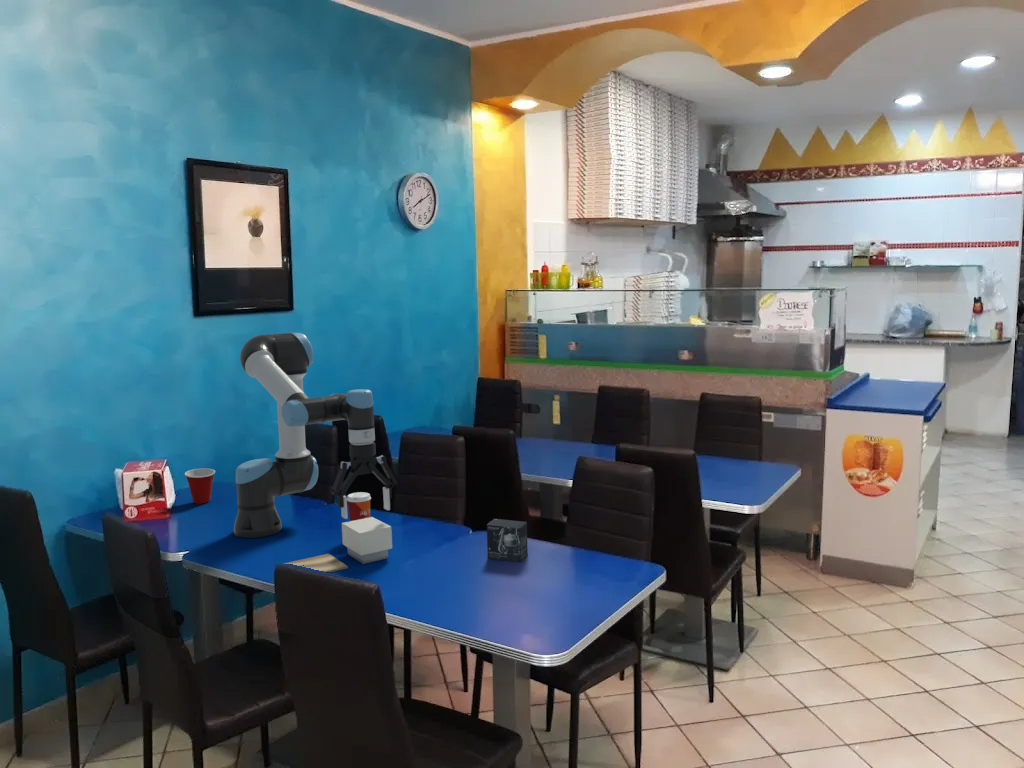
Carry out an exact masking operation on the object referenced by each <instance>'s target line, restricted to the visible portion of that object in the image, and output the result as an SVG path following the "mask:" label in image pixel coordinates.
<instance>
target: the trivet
mask: <svg viewBox="0 0 1024 768" xmlns="http://www.w3.org/2000/svg"><path fill="white" fill-rule="evenodd" d="M283 564H293V565H297V566H302V567H306V568H311V569H314V570H319V571H324V572H329V573H332V572H333V573H335V572H338V571H341V570H346V569H349V566H348V565H346V564H345V563H344V562H342V561H340V560H339V559H338V558H336V557H335V556H333V555H332V554H330V553H325V554H320V555H316V556H312V557H307V558H303V559H298V560H293V561H289V562H284V563H283ZM303 565H304V566H303ZM329 573H328V574H329Z"/></svg>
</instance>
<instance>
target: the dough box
mask: <svg viewBox="0 0 1024 768" xmlns="http://www.w3.org/2000/svg"><path fill="white" fill-rule="evenodd" d="M346 548H347V555H348V556H350V557H351V558H353V559H355V560H356V561H358V562H359V563H361V564H362V565H364V564H369V563H373V562H378V561H381V560H386V559H389V549H388V550H383V551H379V552H374V553H370V554H366V555H359V554H358V553H356V552H354V551H353V550H351V549H349V548H348V547H346Z"/></svg>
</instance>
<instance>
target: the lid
mask: <svg viewBox="0 0 1024 768" xmlns="http://www.w3.org/2000/svg"><path fill="white" fill-rule="evenodd" d="M341 535H342V536H341V537H342V545H343V546H345V547H346V548H347V547H348V548H349V549H351V550H353V551H354V552H356V553H358V554H359V555H366V554H370V553H374V552H379V551H383V550H388V551H389V550H391V549H393V534H392V526H391V525H390V524H387V523H385V522H383V521H381V520H379V519H377V518H375V517H373V516H370V517H369V518H364V519H359V520H354V521H350V520H349V521H345V522H341Z"/></svg>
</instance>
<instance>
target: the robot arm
mask: <svg viewBox="0 0 1024 768" xmlns="http://www.w3.org/2000/svg"><path fill="white" fill-rule="evenodd" d="M314 358H315V357H314V349H313V346H312V343H311V342H310V340H309V338H308V337H307V336H306V335H305V334H303V333H302V332H281V333H280V332H279V333H271V334H259V335H255V336H253V337H251V338H249V339H248V340H247V341H246V342H245V343H244V344H243V346H242V348H241V351H240V354H239V361H240V365H241V367H242V369H243V371H244V372H245V373H246V374H247V375H248V376H249V377H250V378H253V379H256V380H257V381H258V382H259V383H260V384H261V386H262V387H263V388H264V389H265V390H266V392H268V393H269V394H270V395H271V397H272V398H274V400H275V401H276V403H277V404H276V405H277V427H278V442H279V443H278V445H279V450H277V452H275V454H274V457H275V458H274V459H275V460H274V461H273V460H272V459H271V458H267V457H266V458H265V457H262V458H256V459H251V460H248V461H245V462H243V463H241V464H240V465H238V466H237V468H236V469H235V481H234V482H235V485H236V486H235V488H236V499H237V514H236V517H235V521H234V525H233V534H234V536H235V537H237V538H244V539H255V538H265V537H268V536H272V535H275V534H277V533H280V532H281V530H282V526H283V525H282V520H281V518H280V516H279V513H278V510H277V508H276V504H275V503H276V502H275V498H277V497H281V496H286V495H293V494H296V493H300V494H301V493H303V492H305V491H309V490H311V489H313V488H314V487H315V485H316V484H317V482H318V478H319V465H318V462H317V459H316V458H315V457H314V456H313V455H311V451H310V450H309V449H307V447H306V446H307V444H306V426H307V425H314V424H319V423H329V422H336V421H342V420H343V421H347V425H348V427H347V428H348V442H349V443H350V444H349V457H350V460H349V461H342V460H341V461H340V462H339V470H338V472H337V474H336V477H335V481H334V482H333V485H332V487H331V491H330V494H331V495H333V496H336V497H337V506H338V507H339V508H340V511H341V515H340V516H341V518H342V519H344V520H348V518H349V517H348V515H349V512H348V501H347V498H348V495H345V494H346V493H347V491H348V490H349V488H350V486H351V485H352V484H353V482H354V481H355V479H356V478H357V477H358V476H363V475H365V474H367V475H369V474H370V475H371V473H372V474H373V475H374V476H375V477H376V478H377V479H378V480H379V481H380V482H381V484H383V485H384V486H383V487H382V496H383V509H384V510H386V511H390V510H391V499H392V498H393V491H392V489H393V488H394V486H397V485H398V480H397V479H396V477H395V475H394V473H393V471H392V469H391V468H390V465H389V464H388V462H387V461H388V460H387V457H386V456H385V455H383V454H380V455H379V456H377V455H376V454H377V452H376V447H377V446H376V443H375V442H374V441H376V434H375V412H374V411H375V410H374V409H375V407H374V400H373V399H374V398H373V392H372V390H370V389H365V388H364V389H363V388H361V389H359V388H358V389H357V388H356V389H351V390H348V391H347V392H346V394H345V393H340V392H339V393H331V394H330V395H328V396H327V395H326V396H319V397H318V396H317V397H308V395H307V394H306V393H305V392H304V382H303V381H304V380H303V379H304V377H305V376H306V375H307V374H308V368H309V367H310V366H312V364H313V362H314ZM377 463H378V464H379V465H380V467H381V468H382V470H383V472H384V473H385V474H384V475H386V477H387V478H386V477H385V476H384V475H383V474H382V473H381V471H380V470H379V469H378V468H377V467H376V465H377ZM349 467H350V468H351V469H350V471H349V472H348V470H349ZM347 472H348V475H347V476H346V474H347ZM345 477H346V478H345ZM344 479H345V480H344Z"/></svg>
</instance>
